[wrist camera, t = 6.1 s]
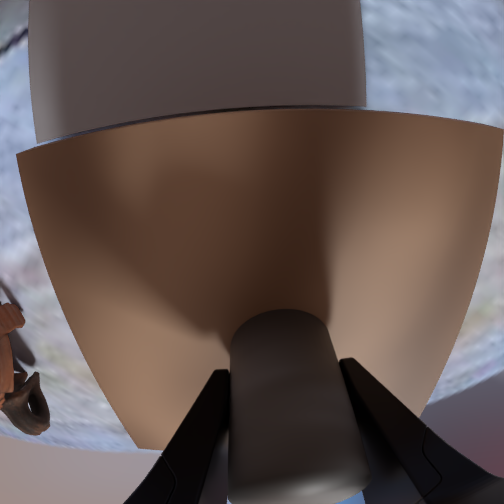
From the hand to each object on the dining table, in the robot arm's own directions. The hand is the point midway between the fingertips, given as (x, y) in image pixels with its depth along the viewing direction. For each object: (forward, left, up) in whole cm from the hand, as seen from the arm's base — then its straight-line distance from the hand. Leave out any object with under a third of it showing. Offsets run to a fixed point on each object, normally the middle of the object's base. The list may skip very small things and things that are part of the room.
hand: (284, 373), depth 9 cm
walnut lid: (0, 0, -2) cm, 2 cm away
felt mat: (+3, -15, -8) cm, 17 cm away
